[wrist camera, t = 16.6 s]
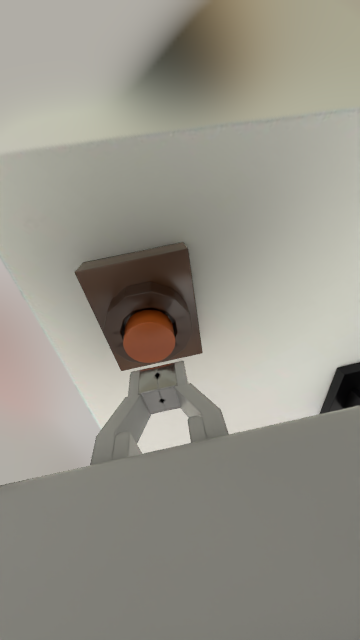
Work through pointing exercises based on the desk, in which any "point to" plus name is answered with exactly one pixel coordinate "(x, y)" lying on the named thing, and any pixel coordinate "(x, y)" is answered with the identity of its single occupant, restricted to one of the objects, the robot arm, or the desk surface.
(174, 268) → the button block
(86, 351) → the desk surface
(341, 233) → the desk surface
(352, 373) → the bracket
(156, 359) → the button
